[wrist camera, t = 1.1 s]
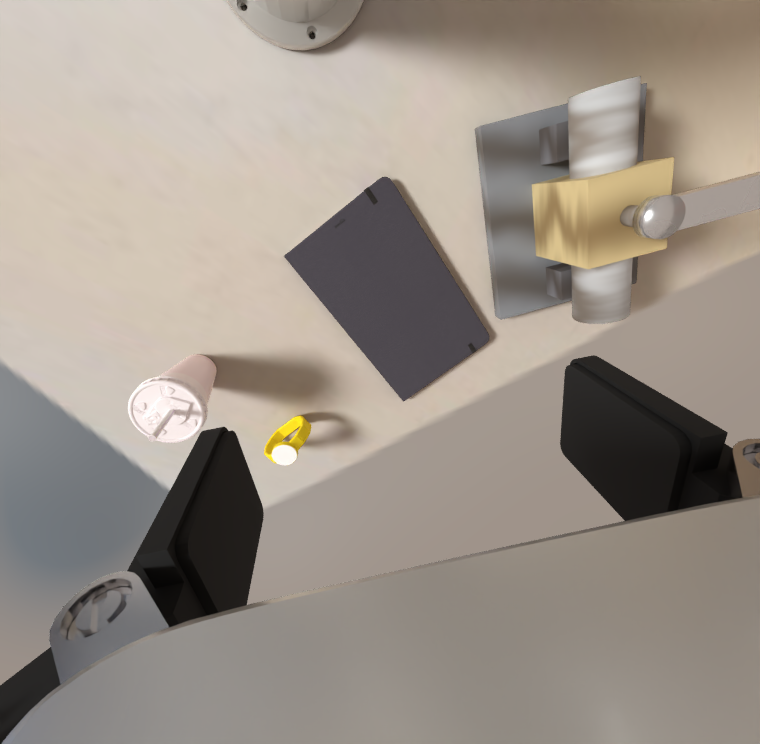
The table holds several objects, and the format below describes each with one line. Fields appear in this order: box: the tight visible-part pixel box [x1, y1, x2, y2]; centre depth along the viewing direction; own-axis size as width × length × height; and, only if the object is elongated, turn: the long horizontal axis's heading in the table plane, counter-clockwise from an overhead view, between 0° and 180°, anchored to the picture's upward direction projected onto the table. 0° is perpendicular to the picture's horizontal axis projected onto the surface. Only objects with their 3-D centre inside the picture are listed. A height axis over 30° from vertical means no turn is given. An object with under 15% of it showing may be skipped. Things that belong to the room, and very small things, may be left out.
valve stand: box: [475, 76, 674, 324], centre depth 35 cm, size 19×16×12 cm
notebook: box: [284, 177, 489, 401], centre depth 42 cm, size 13×2×21 cm
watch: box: [264, 416, 311, 465], centre depth 45 cm, size 6×3×6 cm, turn 126°
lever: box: [632, 172, 760, 239], centre depth 29 cm, size 16×3×2 cm, turn 104°
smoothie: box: [128, 354, 217, 443], centre depth 36 cm, size 6×6×14 cm
